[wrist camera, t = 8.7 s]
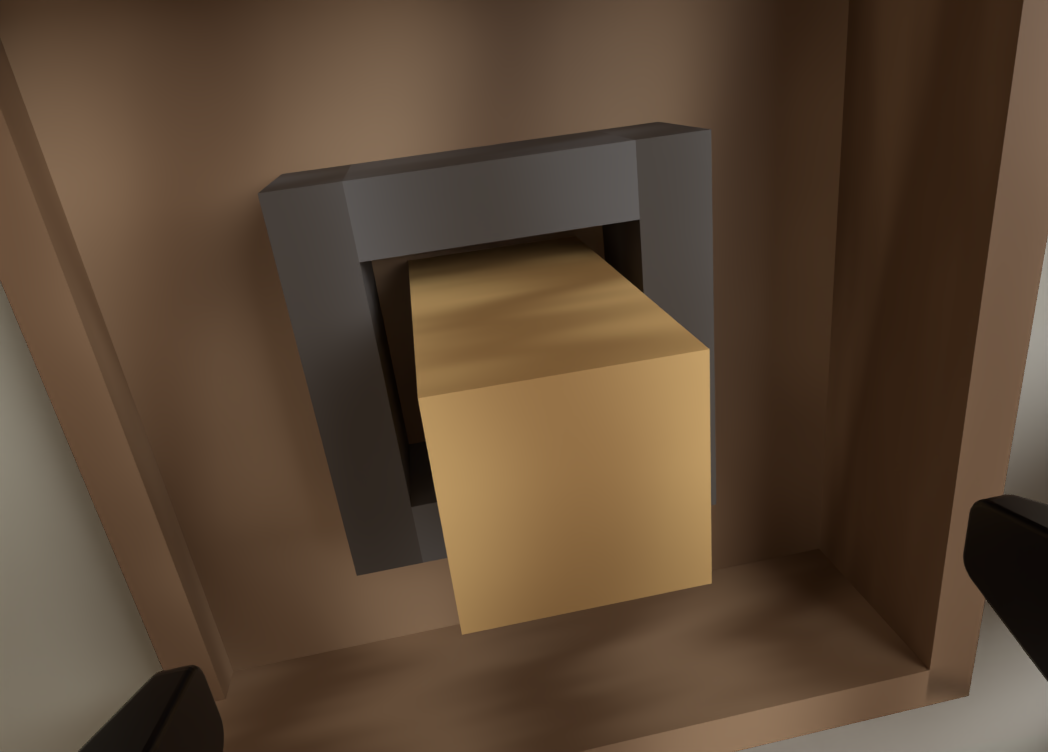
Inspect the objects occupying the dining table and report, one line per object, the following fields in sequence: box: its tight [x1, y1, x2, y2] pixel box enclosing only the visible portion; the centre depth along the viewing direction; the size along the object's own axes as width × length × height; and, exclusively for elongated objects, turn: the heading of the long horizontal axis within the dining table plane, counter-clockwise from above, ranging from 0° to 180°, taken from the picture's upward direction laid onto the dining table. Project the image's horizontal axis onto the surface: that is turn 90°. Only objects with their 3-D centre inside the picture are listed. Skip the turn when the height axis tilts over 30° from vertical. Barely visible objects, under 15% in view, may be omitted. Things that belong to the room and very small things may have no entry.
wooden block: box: [408, 236, 712, 635], centre depth 14 cm, size 4×4×8 cm
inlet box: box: [0, 0, 1048, 752], centre depth 16 cm, size 20×20×6 cm
